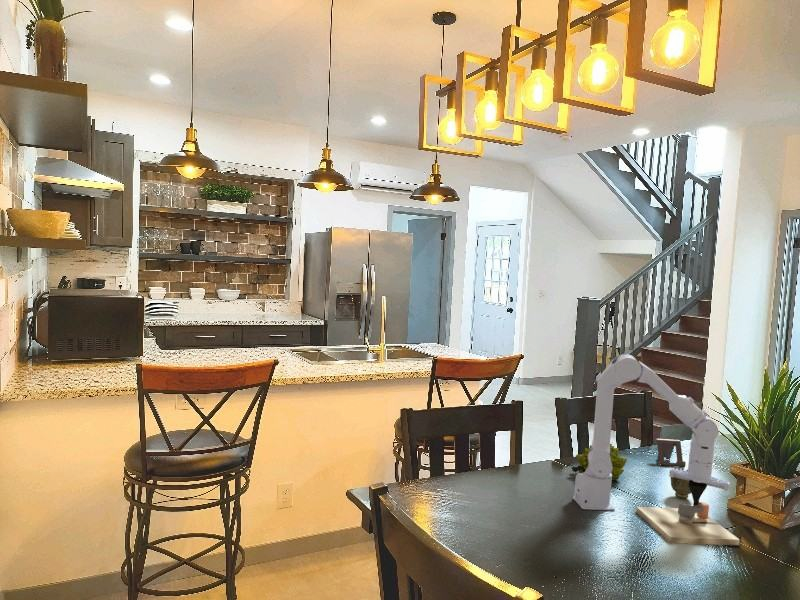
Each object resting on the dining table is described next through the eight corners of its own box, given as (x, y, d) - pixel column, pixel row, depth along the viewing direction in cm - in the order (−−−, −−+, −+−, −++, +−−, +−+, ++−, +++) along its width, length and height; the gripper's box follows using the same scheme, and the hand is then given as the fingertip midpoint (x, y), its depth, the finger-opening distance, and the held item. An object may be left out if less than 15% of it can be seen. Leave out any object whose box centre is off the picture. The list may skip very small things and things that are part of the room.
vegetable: (562, 463, 188) (586, 424, 190) (580, 479, 197) (602, 442, 200) (600, 486, 176) (625, 445, 179) (617, 502, 186) (641, 463, 188)
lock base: (670, 542, 143) (671, 529, 143) (636, 512, 161) (637, 499, 161) (739, 545, 145) (740, 531, 144) (697, 514, 162) (699, 502, 162)
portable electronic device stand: (660, 466, 203) (662, 443, 203) (650, 459, 211) (652, 436, 211) (685, 468, 203) (687, 444, 203) (674, 460, 211) (676, 438, 211)
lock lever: (686, 524, 150) (688, 510, 150) (673, 517, 154) (675, 504, 154) (712, 519, 154) (713, 506, 154) (699, 513, 158) (700, 500, 158)
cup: (698, 504, 170) (700, 477, 170) (671, 500, 172) (674, 474, 171) (690, 494, 178) (693, 469, 177) (665, 491, 179) (667, 466, 178)
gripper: (669, 456, 157) (664, 505, 158) (729, 470, 149) (724, 521, 150) (674, 451, 163) (669, 497, 164) (732, 464, 155) (727, 513, 156)
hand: (695, 508), depth 157 cm, fingers closed
